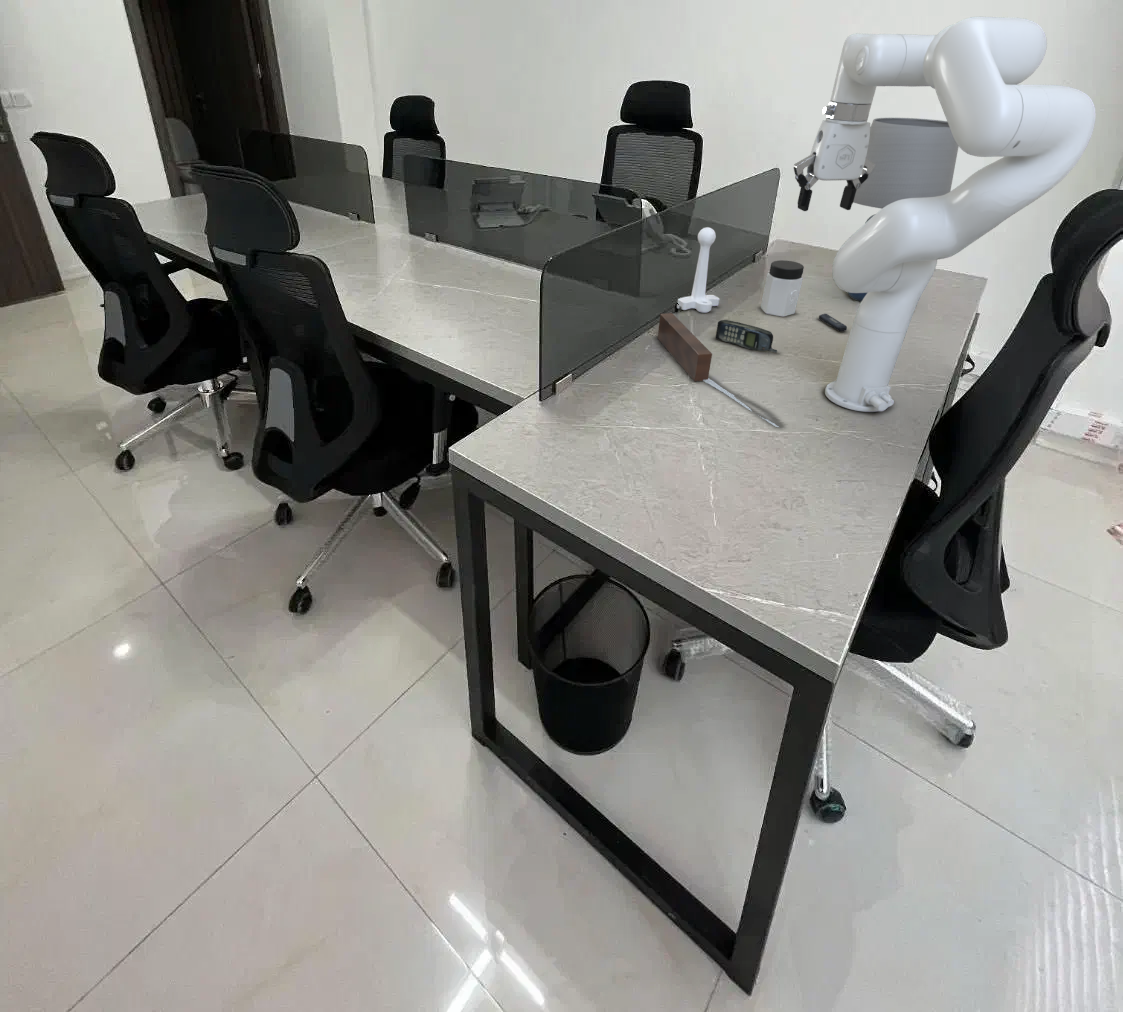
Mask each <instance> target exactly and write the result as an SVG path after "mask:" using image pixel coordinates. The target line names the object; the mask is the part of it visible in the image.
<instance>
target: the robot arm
mask: <svg viewBox="0 0 1123 1012" xmlns="http://www.w3.org/2000/svg"><path fill="white" fill-rule="evenodd" d="M1047 41H1048V39H1047V36H1046V32H1045V30H1044V29H1043V27H1041V25H1040V24H1038V23H1037V22H1036V21H1034V20H1031V19H1027V18H1024V17H1023V18H1022V17H1004V16H1003V17H1002V16H1001V17H1000V16H970V17H966V18H963V19H961V20H959V21H957V22H956V23H953V24H951V25H948V26H945V28H943V29H941V30H940V31H939V32H938V33H937V34H912V33H907V34H906V33H852V34H850V35H849V36H847V37H846V39H845V40H844V42H843V45H842V49H841V54H840V58H839V62H838V67H837V71H836V74H835V79H834V83H833V87H832V91H831V97H830V100H829V102H828V105H824V106H823V108H822V110H821V113H822V115H825V119H824V120H822V121H821V123H820V125H819V128H818V130H817V133H816V136H815V138H814V141H813V145H812V148H811V151H810V155H808V156H806V157H804V158H803V159H801V160H799V161H797V162H795V163H794V164H793V172H794V175H795V177H794V178H795V181H796V182H797V183H798V187H799V188H800V190H799V194H798V199H797V209H799V210H800V211H802V212H807V211H809V207H810V204H811V199H812V195H813V190H812V189H811V188H812V187H813V186H814V185H815V184H816V183H817V182H818V181H819V180H820V181H823V182H824V181H830V182H831V181H846V184H847V183H848V186H847V185H845V186H844V188H843V190H842V191H843V192H842V195H841V199H840V202H839V207H840V208H841V209H843V210H846V211H850V210H851V209H852V206H853V204H854V203H853V201H854V198H855V194H856V190H857V189H859V188H860V186H861V184H862V183H863V182H864V181H865V180H867V178H868V175H870V173H871V172H872V170H873V169H874V167H875V164H874V163H873V162H871V161H870V160H869V159H868V158H866V155H867V150H868V144H869V137H870V127H871V122H868V119H869V116H870V112H871V109H872V105H873V101H874V97H875V93H876V90H877V87H908V88H909V87H911V88H913V87H930V88H932V89H933V90H935V93H936V96H937V98H938V102H939V104H940V106H941V109H942V112H943V115H944V117H945V119H946V121H947V122H948V124H949V127H950V130H951V132H952V135H953V137H954V139H955V141H956V143H957V144H958V146H959V147H958V148H959V149H960V150H962V151H963V152H964V153H965V154H967V155H970V156H974V157H976V158H977V157H978V158H992V157H993V158H997V157H999V159H997V160H996V161H993V162H992V163H991V162H990V163H988V165H984V167H982V168H980V169H978V170H977V171H975V172H974V173H972V174H971V175H970V176H969V177H967V178H966V179H965V180H964V181H963V182H961V183H960V184H959V185H958V186H956V187H955V188H953V189H951V191H950V192H949V193H947V194H945V195H941V196H936V197H923V198H907V199H901V200H898V201H895V202H893V203H891V204H889V205H887V206H885V207H884V208H882V209H881V208H880V210H878V211H877V212H876V213H874V214H875V215H874V214H873V215H874V216H873V217H872V218H871V219H870V220H868V221H867V220H866V221H867V222H866V221H865V222H866V223H864V224H862V225H861V227H859V228H858V229H857V230H856V231H855V232H854V233H853V234H851V236H849V237H848V238H847V239H846V240H845V241H844V242H843V244H842V245H841V246H840V248H839V249H838V250H837V252H836V254H835V256H834V259H833V262H832V266H831V267H832V269H831V275H832V279H833V281H834V283H835V285H836V286H837V287H838V288H839V289H840V290H842V291H843V292H846V293H848V292H849V293H867V294H866V296H865V297H864V299H863V300H862V301H860V304H859V305H858V307H857V310H856V313H855V315H854V319H853V322H852V326H851V329H850V332H849V337H848V339H847V343H846V346H845V350H844V353H843V357H842V360H841V363H840V366H839V369H838V373H837V377H836V379H835V380H833V381H831V382H829V383H827V385H826V386H825V390H824V395H825V396H826V398H827V399H828V401H830V402H832V404H833V403H834V404H835V405H837V406H839V407H842V408H844V409H848V410H852V411H855V412H864V413H876V412H885V411H886V409H888V408H890V407H892V406H893V405H894V404H895V400H894V399H893V398H892V395H891V394H890V390H891V388H892V387H891V386H890V385H889V384H890V381H891V377H892V375H893V372H894V369H895V366H896V363H897V361H898V358H899V355H900V352H901V350H902V346H903V343H904V341H905V337H906V335H907V332H908V330H909V326H910V324H911V320H912V318H913V316H914V313H915V310H916V308H917V305H918V303H919V301H920V299H921V297H922V295H923V293H924V291H925V290H926V288H927V286H928V284H929V282H930V281H931V279H932V277H933V275H934V273H935V271H936V268H937V265H938V260H944V259H948V258H951V257H953V256H955V255H957V254H959V253H960V252H962V251H963V250H964V249H966V248H968V247H969V246H970V245H972V244H973V243H974V242H976V241H977V240H979V239H981V237H983V236H985V235H986V234H987V233H989V232H991V231H992V230H994V229H995V228H997V227H998V226H999V225H1001V224H1002V223H1003V222H1005V221H1006V220H1007V219H1009V218H1010V217H1012V216H1013V215H1015V214H1017V213H1018V212H1020V211H1021V210H1023V209H1025V208H1026V207H1028V206H1029V205H1031V204H1033V203H1034V202H1035V201H1037V200H1038V199H1040V198H1041V197H1043V196H1044V195H1046V194H1047V193H1049V192H1050V191H1051V190H1052V189H1053V188H1055V187H1056V186H1057V185H1058V184H1060V183H1061V182H1062V180H1064V179H1065V178H1066V177H1067V176H1068V175H1069V173H1071V172H1072V170H1073V169H1074V168H1075V166H1077V164H1078V162H1079V161H1080V160H1081V158H1082V156H1083V154H1084V153H1085V152H1086V149H1087V147H1088V145H1089V143H1090V141H1091V139H1092V136H1093V133H1094V129H1095V126H1096V118H1097V112H1096V106H1095V104H1094V102H1093V100H1092V98H1091V97H1090V96H1089V94H1087V93H1086V92H1084V91H1082V90H1081V89H1078V88H1075V87H1072V86H1068V85H1059V84H1021V83H1022V82H1024V81H1027V79H1029V78H1030V77H1031V76H1032V75H1033V74H1034V73H1035V72H1036V71H1037V69H1038V68H1039V67H1040V65H1041V64H1042V62H1043V60H1044V58H1045V55H1046V52H1047V47H1048V45H1047V44H1048V42H1047ZM1000 157H1001V158H1000ZM863 168H864V169H863ZM804 169H806V175H804V174H805V173H804Z"/></svg>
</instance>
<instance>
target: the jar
mask: <svg viewBox="0 0 1123 1012" xmlns="http://www.w3.org/2000/svg"><path fill="white" fill-rule="evenodd" d="M804 269H805V267H804V265H803V264H802V263H800V262H797V261H794V260H793V261H792V260H787V259H786V260H781V259H780V260H774V261H772V262H771V263H770V266H769V272H767V274H766V279H765V283H764V289H763V294H762V299H761V303H760V308H761V310H762V311H763V312H764V313H765V315H771V316H777V317H786V316H791V315H794V314H795V313H796V311H797V310H796V309H797V305H798V300H799V297H800V293H801V288H802V284H803V279H804V278H803V274H804Z"/></svg>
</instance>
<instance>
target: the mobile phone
mask: <svg viewBox="0 0 1123 1012" xmlns="http://www.w3.org/2000/svg"><path fill="white" fill-rule="evenodd" d="M715 339H716V340H717V341H721V342H725V343H729V344H732V345H735V346H737V347H738V346H739V347H741V348H745V349H748V350H751V351H758V352H760V351H761V352H772V353H774V354H775V353H776V354H777V353H778V350H777V349H775V348H772V345H773V342H774V334H773V333H772V331H770V330H767V329H765V328H763V327H758V326H754V325H751V324H746V323H743V322H739V321H734V320H729V319H721V320H718V322H717V325H716V332H715Z"/></svg>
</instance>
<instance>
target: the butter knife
mask: <svg viewBox="0 0 1123 1012" xmlns="http://www.w3.org/2000/svg"><path fill="white" fill-rule="evenodd" d="M702 382H704V383H706V384H707V385H709V386H710V387H712V388H714V389H715V390H717V391H719V392H720V393H723V394H724V395H726V396H728V397H729V398H731V399H732V400H734V402H737V403H738V404H740V405H741V406H743V407H744V408H746V409H747V410H749V411H750V412H752V409H751V408H750V406H748V405H747V404H745V403H744V402H743V401H741V400H739V399H738V398H737V397H735V395H734V394H733V393H731V392H729V391H728V390H726V389H725V388H723V387H722V386H720V384H718V383H716V382H715V381H714V380H712V379H711V378H709V377H708V379H705V380H703V381H702ZM756 415H757V416H758V414H756ZM760 418H761V419H763V420H765V421H766V422H768V423H769V424H771V425H772V426H774V427H776V428H779V426H778V425H777V424H775V423H774V422H773V421H771V420H769V419H767V418H765V417H762V416H760Z"/></svg>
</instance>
